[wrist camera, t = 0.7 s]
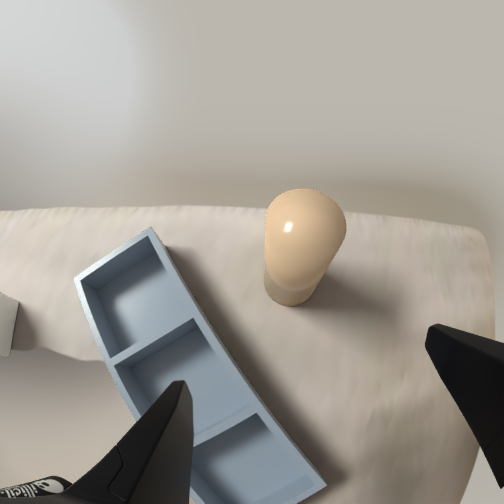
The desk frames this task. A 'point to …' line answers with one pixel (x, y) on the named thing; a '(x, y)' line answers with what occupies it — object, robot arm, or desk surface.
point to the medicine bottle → (7, 323)
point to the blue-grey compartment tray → (190, 377)
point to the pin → (300, 243)
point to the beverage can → (37, 488)
